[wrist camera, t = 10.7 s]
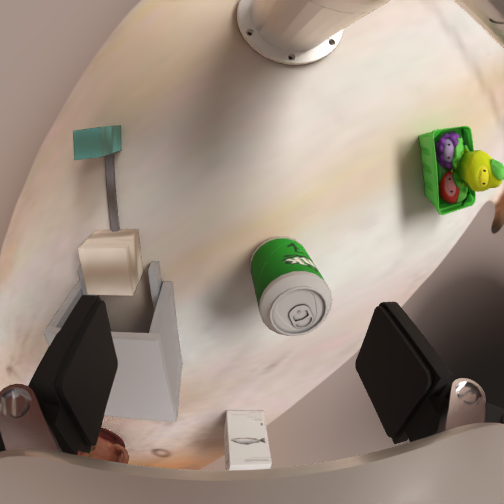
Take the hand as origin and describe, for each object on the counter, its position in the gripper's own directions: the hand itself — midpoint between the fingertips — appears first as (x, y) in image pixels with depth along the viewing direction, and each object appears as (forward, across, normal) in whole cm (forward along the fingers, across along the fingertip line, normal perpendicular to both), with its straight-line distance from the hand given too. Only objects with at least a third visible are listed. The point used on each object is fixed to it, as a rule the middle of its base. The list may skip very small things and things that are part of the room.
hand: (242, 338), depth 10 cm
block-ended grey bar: (+28, +14, +4) cm, 31 cm away
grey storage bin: (+28, +13, +22) cm, 37 cm away
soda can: (+28, -7, +10) cm, 31 cm away
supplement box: (+28, -5, +46) cm, 54 cm away
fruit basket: (+28, -30, -6) cm, 41 cm away
